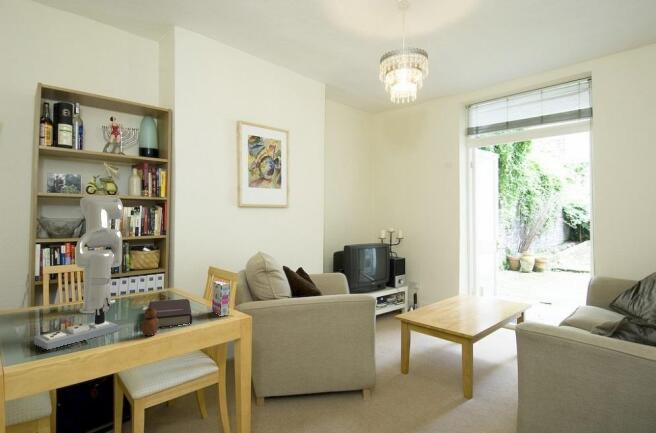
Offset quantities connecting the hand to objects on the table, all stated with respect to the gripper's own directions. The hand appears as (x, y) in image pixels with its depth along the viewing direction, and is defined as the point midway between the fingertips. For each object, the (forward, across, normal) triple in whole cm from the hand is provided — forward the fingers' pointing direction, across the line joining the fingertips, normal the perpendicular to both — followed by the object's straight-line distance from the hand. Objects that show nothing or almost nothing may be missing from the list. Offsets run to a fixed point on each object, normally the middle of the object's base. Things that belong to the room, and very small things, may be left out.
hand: (99, 323), depth 145 cm
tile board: (+4, 0, -8) cm, 9 cm away
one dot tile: (+3, 0, 0) cm, 3 cm away
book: (+4, +7, +28) cm, 30 cm away
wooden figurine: (+4, +21, +10) cm, 23 cm away
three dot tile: (+3, 0, -16) cm, 16 cm away
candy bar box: (+4, +22, +48) cm, 52 cm away
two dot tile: (+2, 0, -8) cm, 8 cm away
